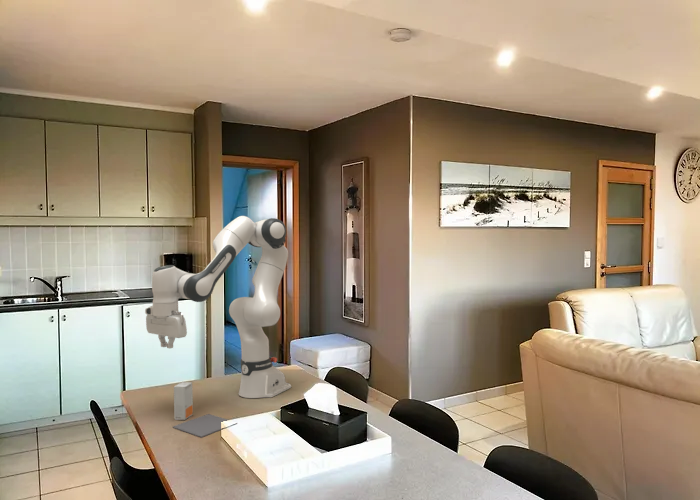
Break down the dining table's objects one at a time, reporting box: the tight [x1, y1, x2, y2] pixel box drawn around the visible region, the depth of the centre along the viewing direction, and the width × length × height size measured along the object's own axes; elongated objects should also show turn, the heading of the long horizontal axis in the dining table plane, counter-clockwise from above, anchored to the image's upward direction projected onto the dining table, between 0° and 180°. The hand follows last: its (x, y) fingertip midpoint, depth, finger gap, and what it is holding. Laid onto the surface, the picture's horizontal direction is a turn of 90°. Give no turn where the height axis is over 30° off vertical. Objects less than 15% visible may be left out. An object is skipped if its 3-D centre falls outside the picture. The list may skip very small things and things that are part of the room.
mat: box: [172, 413, 228, 439], centre depth 182 cm, size 15×16×1 cm
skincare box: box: [173, 381, 194, 421], centre depth 190 cm, size 6×4×12 cm
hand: (167, 347), depth 195 cm, fingers open, 2 cm apart
